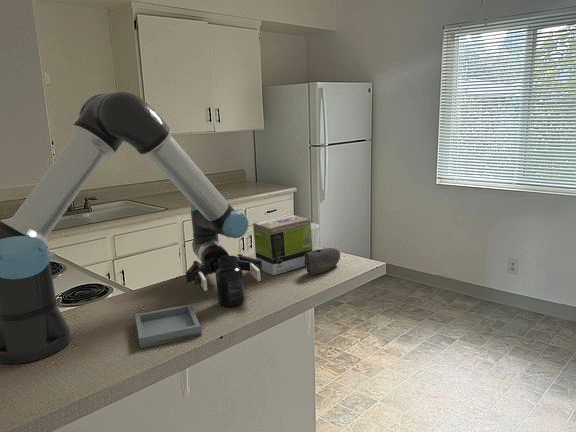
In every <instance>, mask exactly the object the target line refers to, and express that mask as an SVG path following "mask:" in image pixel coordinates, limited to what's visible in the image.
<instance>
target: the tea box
mask: <svg viewBox="0 0 576 432" xmlns="http://www.w3.org/2000/svg"><path fill="white" fill-rule="evenodd" d="M311 223H312V222H311V219H309V218H306V217H302V216H298V215H293V214H290V215H289V214H288V215H285V216H281V217H276V218H271V219H267V220H262V221H257V222H253V223H252V227H253V228H252V229H253V238H254V239H253V240H254V252H255V259H258V260H261V261H262V270H261V271H263V272H265V273H267V274H269V275H272V276H276V275H279V274H283V273H287V272H290V271H293V270H296V269H301V268H303V267H306V266H305V256H304V254H305V253H307V252H310V251H312V237H311Z"/></svg>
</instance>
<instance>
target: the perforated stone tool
mask: <svg viewBox="0 0 576 432" xmlns="http://www.w3.org/2000/svg"><path fill="white" fill-rule="evenodd" d="M304 256H305V266H304V267H306V273H308V274H309V275H310V276H315V275H319V274H322V273H324V272H327V271H328V270H331V269H332V268H335V267H336V266H337V264H339V262H340V260H341V252H340V250H338V248H337V249H336V248H333V247H326V248H325V247H323V248H318V250H315V251H310V252H307V253H305V254H304Z"/></svg>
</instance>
